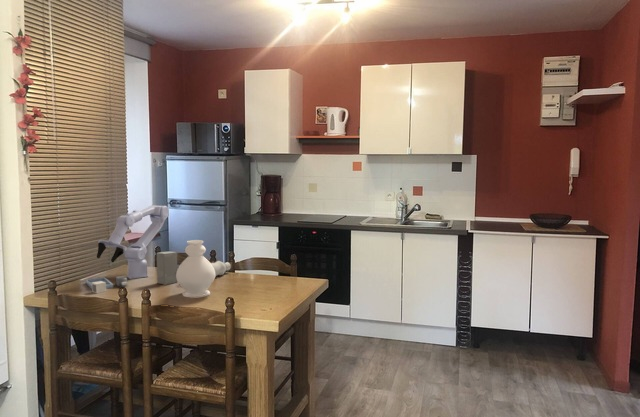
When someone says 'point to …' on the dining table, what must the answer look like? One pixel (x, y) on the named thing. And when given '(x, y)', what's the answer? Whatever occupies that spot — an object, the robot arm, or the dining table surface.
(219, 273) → the bottle
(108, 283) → the tray
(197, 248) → the decorative vase
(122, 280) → the plug
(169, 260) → the skincare box
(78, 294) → the dining table surface
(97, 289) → the block
